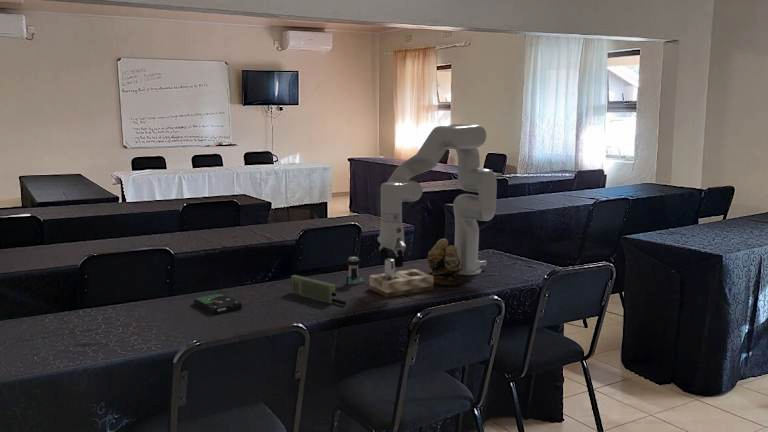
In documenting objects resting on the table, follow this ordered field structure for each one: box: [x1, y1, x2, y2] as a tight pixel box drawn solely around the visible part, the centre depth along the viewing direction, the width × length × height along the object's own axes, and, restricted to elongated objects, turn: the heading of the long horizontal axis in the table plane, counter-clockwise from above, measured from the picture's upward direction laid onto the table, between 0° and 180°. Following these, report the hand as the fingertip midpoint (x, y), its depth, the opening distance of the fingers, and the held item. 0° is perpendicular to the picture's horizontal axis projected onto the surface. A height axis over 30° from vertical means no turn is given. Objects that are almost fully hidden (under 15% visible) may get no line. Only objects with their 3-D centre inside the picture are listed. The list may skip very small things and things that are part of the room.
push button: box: [345, 256, 364, 286], centre depth 249 cm, size 7×5×10 cm
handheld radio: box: [290, 274, 347, 306], centre depth 229 cm, size 7×3×25 cm
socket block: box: [368, 268, 434, 298], centre depth 243 cm, size 20×12×5 cm, turn 122°
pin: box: [384, 258, 397, 280], centre depth 239 cm, size 4×4×10 cm
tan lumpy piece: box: [427, 238, 462, 288], centre depth 253 cm, size 18×12×17 cm, turn 37°
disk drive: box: [193, 292, 243, 316], centre depth 219 cm, size 10×3×15 cm
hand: (391, 263), depth 239 cm, fingers open, 9 cm apart
